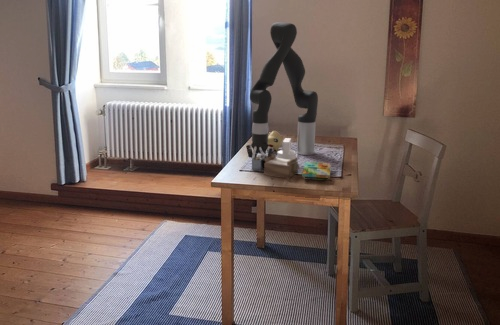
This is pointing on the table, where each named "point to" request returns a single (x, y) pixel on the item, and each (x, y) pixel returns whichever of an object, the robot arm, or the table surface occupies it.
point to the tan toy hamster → (275, 140)
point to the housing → (257, 163)
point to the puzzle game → (316, 171)
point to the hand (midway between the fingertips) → (259, 167)
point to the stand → (280, 166)
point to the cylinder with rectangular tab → (286, 150)
